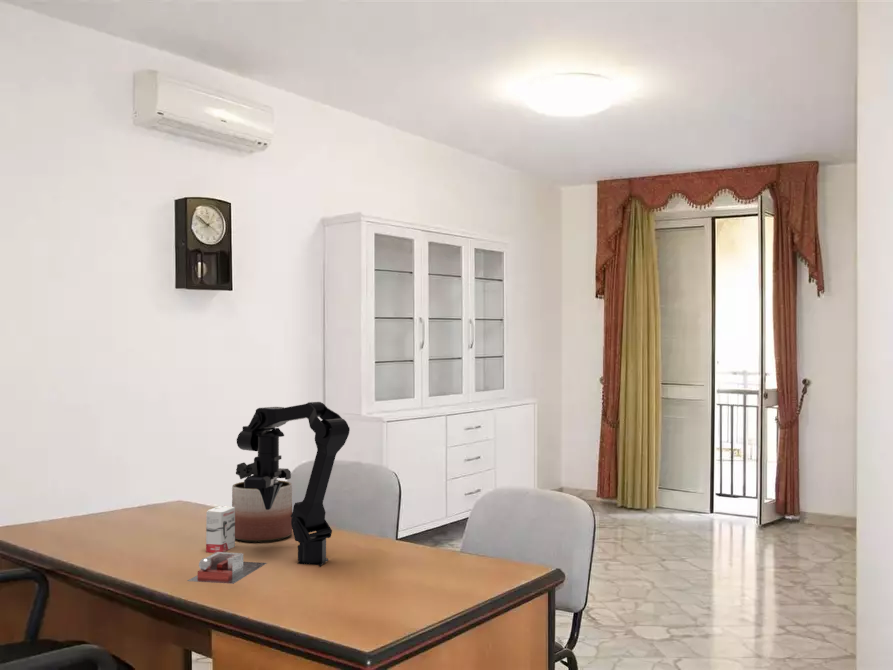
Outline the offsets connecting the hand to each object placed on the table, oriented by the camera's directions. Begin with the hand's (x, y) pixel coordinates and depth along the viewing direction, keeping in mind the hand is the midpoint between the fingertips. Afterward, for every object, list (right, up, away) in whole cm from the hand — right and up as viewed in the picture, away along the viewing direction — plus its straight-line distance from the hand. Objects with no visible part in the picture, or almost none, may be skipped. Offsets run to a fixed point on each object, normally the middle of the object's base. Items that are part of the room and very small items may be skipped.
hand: (268, 509), depth 234 cm
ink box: (-14, -12, +3) cm, 19 cm away
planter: (-6, -13, +20) cm, 25 cm away
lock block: (-6, -11, -24) cm, 27 cm away
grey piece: (-5, -12, -22) cm, 25 cm away
